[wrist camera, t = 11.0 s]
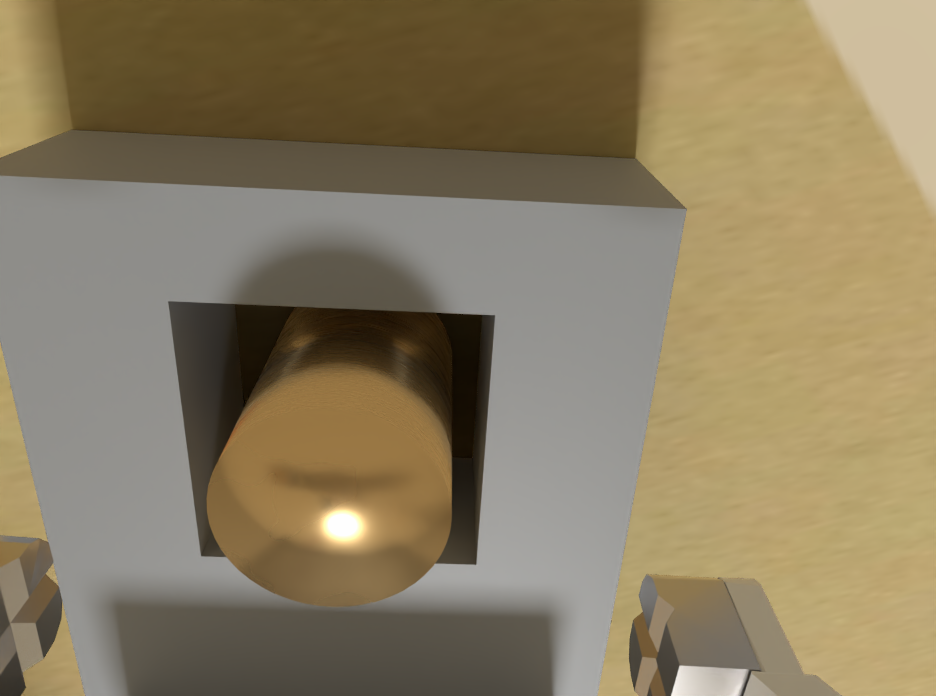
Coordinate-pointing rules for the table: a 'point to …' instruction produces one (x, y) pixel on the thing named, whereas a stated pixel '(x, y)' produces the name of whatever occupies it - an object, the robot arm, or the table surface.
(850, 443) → the table surface
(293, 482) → the gold cylinder puck
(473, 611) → the frame
